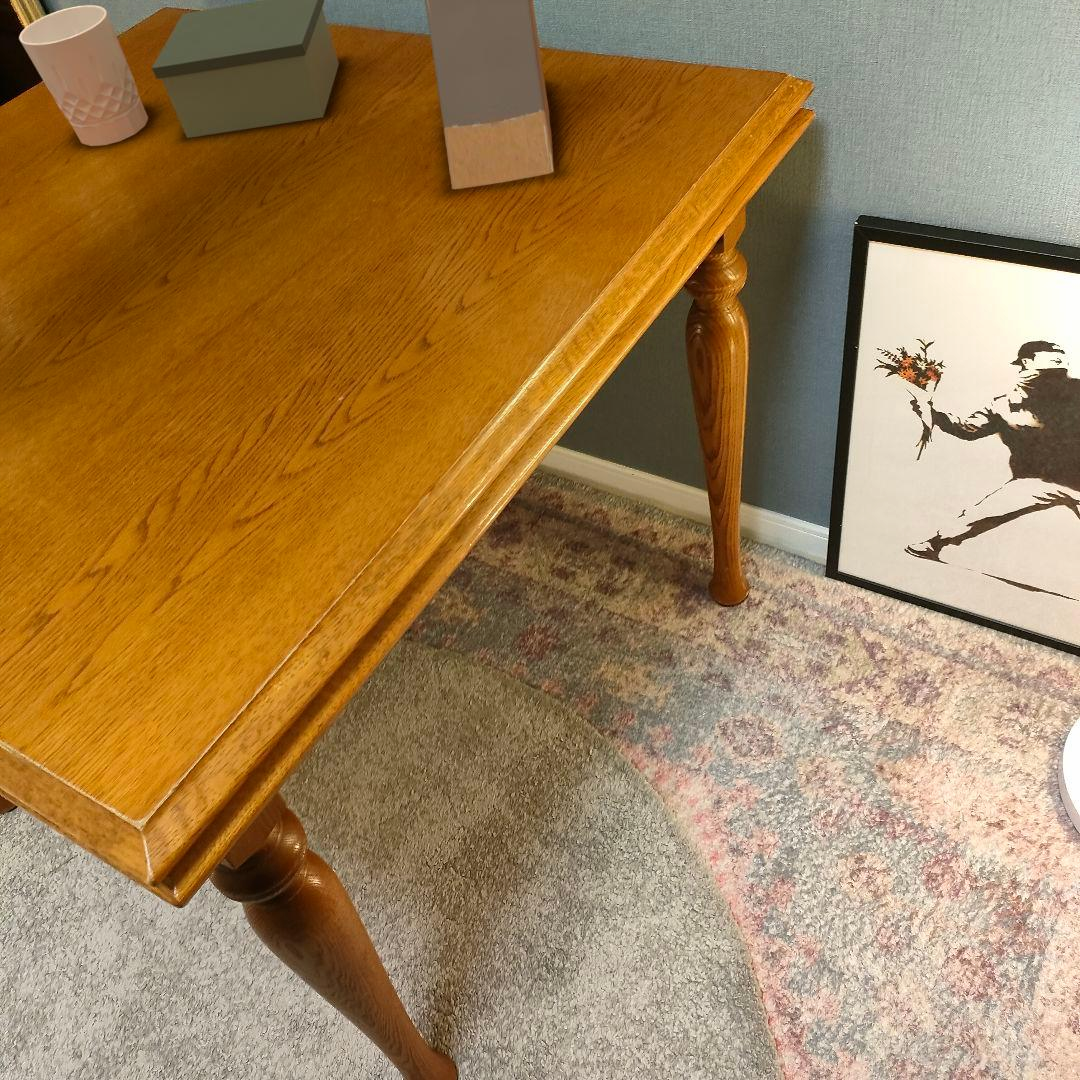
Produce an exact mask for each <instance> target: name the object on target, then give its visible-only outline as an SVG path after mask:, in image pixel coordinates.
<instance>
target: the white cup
mask: <svg viewBox="0 0 1080 1080" xmlns="http://www.w3.org/2000/svg"><path fill="white" fill-rule="evenodd" d="M19 33H20V34H19V36H18V40H19V42H20V43H21V45H22V47H23V48H24V50H25V52H26V53H27V55H28V57H29V59H30V60H31V62H32V64H33V66H34V67H35V69H36V71H37V72H38V74H39V76H40V78H41V79H42V81H43V83H44V85H45V87H46V88H47V90H48V91H49V93H50V95H51V96H52V97H53V100H54V102H55V103H56V105H57V106H58V108H59V110H60V111H61V113H62V114H63V116H64V118H66V120H68V123H69V124H70V125H71V127H72V129H73V131H74V133H75V134H76V136H77V138H78V140H79V142H80V143H81V144H83V145H86V146H90V147H98V146H107V145H112V144H115V143H118V142H122V141H123V140H126V139H129V138H130V137H132V136H134V135H136V134H137V133H138V132H140V131H141V130H142V129H143V128H145V126H146V125H147V122H148V120H149V116H148V114H147V111H146V109H145V106H144V104H143V102H142V100H141V97H140V95H139V90H138V86H137V84H136V81H135V78H134V76H133V73H132V70H131V67H130V66H129V63H128V60H127V58H126V55H125V53H124V51H123V48H122V46H121V44H120V41H119V39H118V36H117V34H116V31H115V29H114V27H113V24H112V22H111V18H110V17H109V14H108V12H107V10H106V8H104V7H102V6H100V5H93V4H88V5H86V4H85V5H77V6H73V7H72V6H71V7H66V8H63V9H60V10H57V11H55V12H51V13H49V14H47V15H44V16H42V17H40V18H38V19H36V20H34V21H32V22H31V23H30V24H28V25H26V27H24V28H23V30H22V31H21V32H19Z"/></svg>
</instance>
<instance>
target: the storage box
mask: <svg viewBox="0 0 1080 1080" xmlns="http://www.w3.org/2000/svg"><path fill="white" fill-rule="evenodd" d="M324 3H325V0H256V1H251V2H244V3H237V4H233V5H226V6H220V7H214V8H208V9H203V10H197V11H191V12H184V13H182V15H180V18H179V19H178V21H177V23H176V25H175V26H174V28H173V29H172V32H171V33H170V35H169V37H168V38H167V41H166V43H165V44H164V45H163V47H162V49H161V51H160V53H159V54H158V57H157V58H156V60H155V62H154V64H153V65H152V66H151V69H152V73H153V75H154V77H155V79H156V80H158V79H160V80H161V82H162V84H163V85H164V88H165V91H166V93H167V95H168V97H169V99H170V102H171V104H172V106H173V109H174V110H175V113H176V116H177V118H178V120H179V123H180V125H181V126H182V129H183V131H184V134H185V136H186V138H187V139H190V138H197V137H203V136H209V135H217V134H223V133H230V132H236V131H241V130H249V129H255V128H261V127H269V126H275V125H281V124H289V123H294V122H295V123H296V122H301V121H307V120H315V119H320V118H324V116H325V114H326V113H325V112H326V109H327V105H328V103H329V99H330V96H331V93H332V89H333V86H334V82H335V78H336V75H337V72H338V69H339V66H340V62H339V59H338V56H337V53H336V49H335V46H334V42H333V39H332V36H331V32H330V30H329V26H328V22H327V19H326V15H325V13H324V9H323V6H324Z"/></svg>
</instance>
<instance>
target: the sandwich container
mask: <svg viewBox="0 0 1080 1080" xmlns="http://www.w3.org/2000/svg"><path fill="white" fill-rule="evenodd" d="M424 1H425V2H424V3H425V10H426V11H425V12H426V16H427V17H426V18H427V23H428V31H429V38H430V44H431V50H432V57H433V58H432V59H433V65H434V72H435V79H436V85H437V92H438V99H439V106H440V111H441V113H440V114H441V119H442V120H441V121H442V128H443V134H444V141H445V147H446V154H447V155H446V156H447V162H448V169H449V177H450V183H451V189H452V190H460V189H467V188H473V187H481V186H487V185H494V184H500V183H501V184H502V183H507V182H511V181H518V180H523V179H529V178H533V177H538V176H539V177H540V176H544V175H549V174H552V173H554V172H555V169H554V167H555V166H554V153H553V152H554V151H553V138H552V128H551V121H550V120H551V119H550V107H549V102H548V96H547V89H546V82H545V75H544V68H543V63H542V57H541V56H542V55H541V49H540V42H539V34H538V28H537V27H538V26H537V20H536V14H535V13H536V12H535V7H534V1H533V0H424Z"/></svg>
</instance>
